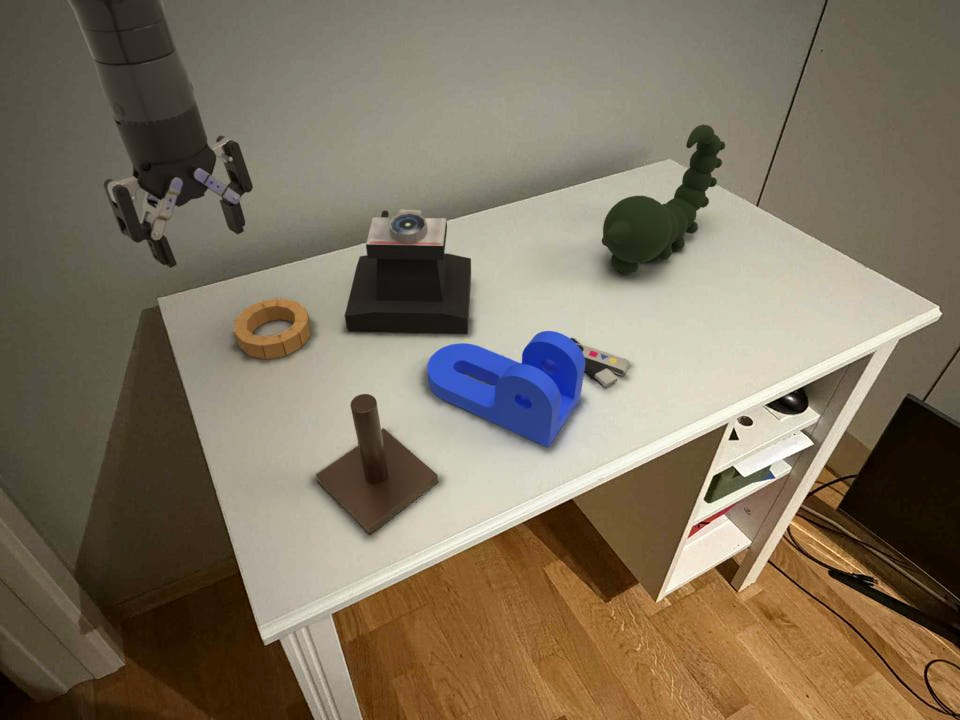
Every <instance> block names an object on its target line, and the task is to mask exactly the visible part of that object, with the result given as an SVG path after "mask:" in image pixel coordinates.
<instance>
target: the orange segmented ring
mask: <svg viewBox="0 0 960 720" xmlns="http://www.w3.org/2000/svg"><path fill="white" fill-rule="evenodd" d="M278 320H282V321H288V322H290V323H293V324H292V325H291V326H290V327H289V328H288V329H286V330H285V331H282V332H280V333H279V334H275V335H269V336H268V335H267V336H262V335H257V334H253V333H254V332H255V331H256V329H257V328H258V327H260V326H262V325H264V324H266V323H268V322H272V321H278ZM310 322H311V321H310V318H309V313H308V310H307V308H305V306H303V305H301V304H300V303H299V302H298V301H296V300H291V299H286V298H282V297H281V298H273V299H266V300H261V301H257V302H256V303H254V304H252V305H250V306H248V307H246V308H244V309H243V310H242V311H241V312H240V314H239V315H238V316H237V317H236V318H235V319H234V321H233V323H234V324H233V334H234V337H235V339H236V342H237V344H238V347H239V349H241V350H242V351H243V352H244V353H245V354H246V355H247V356H249V357H252V358H257V359H262V360H270V359H271V360H272V359H276V358H283V357H286V356H288V355H289V356H290V355H291V354H293V353H294V352H296V351H298V350H300V349H301V348H303V347H304V345H305V344H306V342H307V341H308V340H309V339H310V337H311V335H312V330H311V323H310Z"/></svg>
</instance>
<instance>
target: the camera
mask: <svg viewBox="0 0 960 720" xmlns="http://www.w3.org/2000/svg"><path fill="white" fill-rule="evenodd" d="M389 214H390V212H389V210H388V211H387V210H385V209H384V210H382V211H381V214H380V215H381V216H372V217H371V221H370V226H369V230H368V234H367V239H366V243H365V246H366V247H365V248H366V255H361V256H359V257H358V261H357V264H356V267H355V271H354V276H353V279H352V283H351V288H350V291H349V296H348V300H347V304H346V309H345V313H344V319H345V325H346V329H347V332H355V333H356V332H358V333H359V332H361V333H362V332H363V333H401V334H402V333H407V334H408V333H409V334H448V335H449V334H453V335H454V334H457V335H458V334H459V335H468V333H469V317H470V316H469V315H470V299H471V296H470V295H471V283H472V282H471V281H472V258H470V257H466V256H462V255H458V254H457V255H456V254H452V253H447V252H446V253H445V251H446V241H447V234H448V222H447V218H445V217H444V218H443V217H441V218H440V217H425V216H424V215H423V211H422V209H398V210H397V214H395V215H394V216H391V217H389Z"/></svg>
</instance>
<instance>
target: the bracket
mask: <svg viewBox="0 0 960 720" xmlns="http://www.w3.org/2000/svg"><path fill="white" fill-rule="evenodd" d="M570 338H571V337H569V336H567V335H565V334H563V333H561V332H558V331H553V330H543V331H540V332H538V333H537V334H535V335H534V336H533V337H532V339H531V340H530V341H529V342H528V344H526V346H525V347H524V349H523V351H522V354H521V362H518V361H516V360H513V359H511V358H509V357H506V356H505V355H501V354H500V353H499V354H498V353H497V352H494V351H492V350H489V349H486V348H485V347H482V346H480V345H477V344H473V343H467V342H462V343H461V342H459V343H453V344H449V345H445V346H443V347H441V348H439V349H437V350H436V351H435V352H434V353H433V354H432V355H431V356H430V357H429V360H428V362H427V380H428V381H427V383H428V386H429V389H430V391H432V393H433V394H434V395H435V396H436V397H437V398H439V399H441V400H442V401H445V402H447V403H450V404H452V405H454V406H456V407H458V408H460V409H463V410H464V411H467V412H469V413H471V414H474V415H476V416H478V417H480V418H483V419H485V420H487V421H488V422H491V423H494V424H496V425H497V426H500V427H502V428H504V429H506V430H508V431H511V432H513V433H515V434H517V435H520V436H522V437H524V438H526V439H529V440H531V441H533V442H535V443H537V444H539V445H542V446H544V447H545V448H549V447H550V446H551V444H552V443H553V441H554V440H555V438H556V437H557V435H558V434H559V432H560V431H561V429H562V428H563V426H564V425H565V423H566V422H567V420H568V419H569V417H570V415H571V414H572V413H573V411H574V410H575V408H576V407H577V405H578V404H579V402H580V400H581V396H582V395H581V394H582V390H583V383H584V378H585V377H584V376H585V372H586V371H585V358H584V355H583V353H582V351H581V349H580V348H579V347H578V345H577V344H576V343H575V342H574V341H573V340H571V339H570ZM466 374H467V375H466ZM473 377H474V378H473ZM475 378H476V379H475ZM477 379H478V380H477ZM480 380H481V381H480ZM484 382H485V383H484Z"/></svg>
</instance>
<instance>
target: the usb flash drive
mask: <svg viewBox="0 0 960 720" xmlns="http://www.w3.org/2000/svg"><path fill="white" fill-rule="evenodd" d="M569 338H570V339H571V340H573V341H574V342H575V343H576V344H577V345H578V347H579V348H580V349H581V351H582V353H583V355H584V358H585V371H584V372H586V373H587V374H588V375H589V376H590V377H591V378H593V379H596V380H597V381H598V382H599V383H600V384H601V385H602V386H603V387H605V388H607V387H608V386H610V385H612V384H615V383H616V382H618V379H619V378H618V376H617V375H619V376H624V375H625V373H626V371H627V369H628V367H629V366H630V360H628V359H626V358H623V357H620V356H617V355H614V354H611V353H609V352H605V351H602V350H600V349H596V348H593V347H591V346H587V345H584V344H581V343H580V342H579V341H578V340H577V339H575V338H574V337H569Z"/></svg>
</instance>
